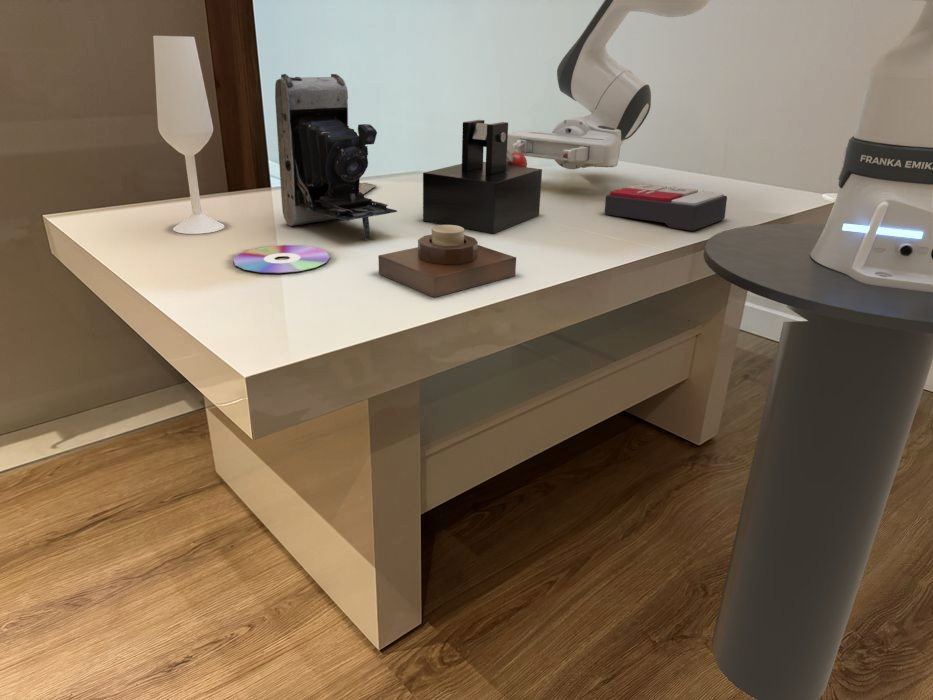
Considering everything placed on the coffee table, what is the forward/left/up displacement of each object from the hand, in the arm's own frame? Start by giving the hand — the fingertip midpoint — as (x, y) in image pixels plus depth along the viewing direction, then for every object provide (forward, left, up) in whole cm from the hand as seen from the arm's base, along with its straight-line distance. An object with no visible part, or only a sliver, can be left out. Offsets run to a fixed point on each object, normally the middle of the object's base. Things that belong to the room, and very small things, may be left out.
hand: (540, 152), depth 117 cm
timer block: (-11, +45, -7) cm, 47 cm away
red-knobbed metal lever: (0, +14, 0) cm, 15 cm away
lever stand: (0, +19, -7) cm, 20 cm away
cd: (+8, +52, -8) cm, 53 cm away
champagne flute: (+28, +48, -8) cm, 56 cm away
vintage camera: (+12, +37, -8) cm, 39 cm away
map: (+26, +20, -8) cm, 33 cm away
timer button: (-11, +45, -4) cm, 46 cm away
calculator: (-22, +1, -8) cm, 23 cm away
